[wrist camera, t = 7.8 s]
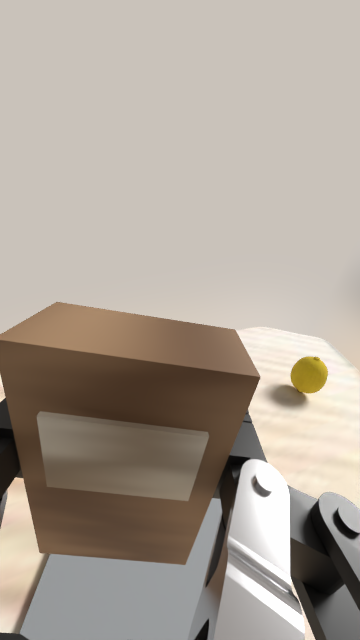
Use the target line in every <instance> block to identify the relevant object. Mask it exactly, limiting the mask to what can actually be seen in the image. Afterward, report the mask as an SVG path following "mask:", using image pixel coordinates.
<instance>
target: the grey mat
mask: <svg viewBox="0 0 360 640" xmlns="http://www.w3.org/2000/svg"><path fill="white" fill-rule="evenodd" d="M221 512H222V507H221V500H220V499H216V498H212V500H211V502H210V505H209V507H208V510H207V512H206V515H205V517H204V520H203V522H202V525H201V527H200V530H199V532H198V535H197V537H196V540H195V542H194V545H193V547H192V550H191V552H190V555H189V557H188V560H187V562H186V565H179V564H167V563H155V562H143V561H131V560H119V559H107V558H95V557H83V556H71V555H59V554H50V556H49V558H48V561H47V563H46V566H45V568H44V571H43V574H42V576H41V579H40V581H39V584H38V586H37V589H36V592H35V594H34V597H33V599H32V602H31V604H30V607H29V610H28V612H27V615H26V617H25V620H24V622H23V625H22V628H21V630H20V633H19V634H21V635H23V636H24V637H26V638H28V639H29V640H188V636H189V632H190V628H191V624H192V620H193V617H194V613H195V610H196V607H197V604H198V601H199V598H200V595H201V591H202V588H203V584H204V580H205V576H206V571H207V567H208V563H209V559H210V555H211V551H212V547H213V543H214V538H215V534H216V530H217V526H218V522H219V518H220V515H221Z"/></svg>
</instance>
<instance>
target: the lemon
mask: <svg viewBox="0 0 360 640" xmlns="http://www.w3.org/2000/svg"><path fill="white" fill-rule="evenodd" d="M327 376H328V371H327V367H326V366H325V364H324V363H323V362H322V361H321V360H320V358H318V357H304V358H301V359H300V360H299V361H298V362H297V363H296V364H295V365H294V366H293V368H292V371H291V381H292V383H293V385H294V386H295V388H297V390H298V391H299V392H304V393H315V392H317V391H319V390H320V389H321V388H322V387H323V386H324V384H325V383H326V380H327Z"/></svg>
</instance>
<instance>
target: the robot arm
mask: <svg viewBox="0 0 360 640" xmlns="http://www.w3.org/2000/svg"><path fill="white" fill-rule="evenodd" d="M15 477H18V478H23V474H22V470H21V465H20V460H19V456H18V451H17V447H16V442H15V438H14V433H13V428H12V424H11V419H10V415H9V410H8V406H7V401H6V398H5V399H4V400H3V401H1V402H0V527H1V523H2V518H3V514H4V509H5V504H6V500H7V494H8V492H7V489H8V487H9V486H10V484H11V483H12V481H13V480H14V478H15ZM212 498H216V499H220V500H221V507H222V512H221V515H220V518H219V522H218V526H217V530H216V534H215V538H214V543H213V547H212V551H211V555H210V559H209V563H208V567H207V571H206V576H205V580H204V584H203V588H202V591H201V595H200V598H199V601H198V604H197V607H196V610H195V613H194V617H193V620H192V624H191V628H190V632H189V636H188V640H305V636H304V623H303V616H302V610H301V606H300V603H299V601H298V599H297V598H296V597H295V596H294V594H293V592H292V589H291V581H290V577H291V580H292V582H293V585H294V587H295V589H296V592H297V594H298V597H299V599H300V602H301V604H302V607H303V609H304V612H305V614H306V617H307V619H308V622H309V624H310V627H311V629H312V632H313V634H314V637H315V639H316V640H360V509H359V508H357V507H356V506H355V505H354V504H353V503H352V502H350V501H349V500H348V499H346V498H345V497H343V496H341V495H339V494H336V493H333V492H326V493H323V494H322V495H321V496H320V498H319V499H316V498H314V497H311V496H309V495H307V494H305V493H303V492H300V491H298V490H296V489H294V488H292V487H290V486H288V485H287V484H286V483H285V481H284V480H283V478H282V477H281V475H280V474H279V473H278V472H277V470H276V469H274V468H273V467H272V466H271V465H269V464H268V463H267V461H266V458H265V455H264V453H263V450H262V447H261V445H260V442H259V439H258V436H257V434H256V431H255V428H254V426H253V424H252V420H251V418H250V415H249V412H248V410H247V412H246V415H245V417H244V420H243V422H242V425H241V427H240V430H239V432H238V435H237V437H236V440H235V442H234V445H233V447H232V450H231V452H230V455H229V457H228V460H227V462H226V465H225V467H224V470H223V472H222V475H221V477H220V480H219V482H218V485H217V487H216V490H215V492H214V495H213V497H212ZM0 640H29V639H28V638H26V637H24V636H23V635H21V634H14V633H0Z"/></svg>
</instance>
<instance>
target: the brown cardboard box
mask: <svg viewBox="0 0 360 640" xmlns="http://www.w3.org/2000/svg"><path fill="white" fill-rule="evenodd" d="M0 374H1V378H2V383H3V387H4V392H5V396H6V401H7V406H8V410H9V415H10V419H11V424H12V428H13V433H14V438H15V442H16V447H17V451H18V456H19V460H20V465H21V470H22V474H23V479H24V483H25V488H26V492H27V497H28V502H29V506H30V511H31V515H32V520H33V524H34V529H35V534H36V538H37V543H38V547H39V552H40V553H47V554H59V555H71V556H83V557H95V558H107V559H119V560H131V561H143V562H155V563H167V564H179V565H186V562H187V560H188V557H189V555H190V552H191V550H192V547H193V545H194V542H195V540H196V537H197V535H198V532H199V530H200V527H201V525H202V522H203V520H204V517H205V515H206V512H207V510H208V507H209V505H210V502H211V500H212V497H213V495H214V492H215V490H216V487H217V485H218V482H219V480H220V477H221V475H222V472H223V470H224V467H225V465H226V462H227V460H228V457H229V455H230V452H231V450H232V447H233V445H234V442H235V440H236V437H237V435H238V432H239V430H240V427H241V425H242V422H243V420H244V417H245V415H246V412H247V410H248V407H249V405H250V402H251V400H252V397H253V395H254V392H255V390H256V387H257V385H258V382H259V380H260V375H259V373H258V371H257V370H256V368H255V366H254V364H253V362H252V360H251V358H250V357H249V355H248V353H247V351H246V349H245V347H244V345H243V344H242V342H241V340H240V338H239V336H238V334H237V332H236V331H235V330H234V329H227V328H221V327H215V326H208V325H202V324H195V323H189V322H182V321H176V320H170V319H163V318H157V317H150V316H144V315H138V314H131V313H125V312H118V311H112V310H105V309H99V308H93V307H86V306H79V305H73V304H67V303H60V302H56V303H54V304H52V305H51V306H49V307H47V308H45V309H44V310H42V311H40V312H38V313H37V314H35V315H33V316H32V317H30V318H28V319H26V320H25V321H23V322H21V323H20V324H18V325H16V326H15V327H13V328H11V329H9V330H7V331H6V332H4V333H2V334H0Z"/></svg>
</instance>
